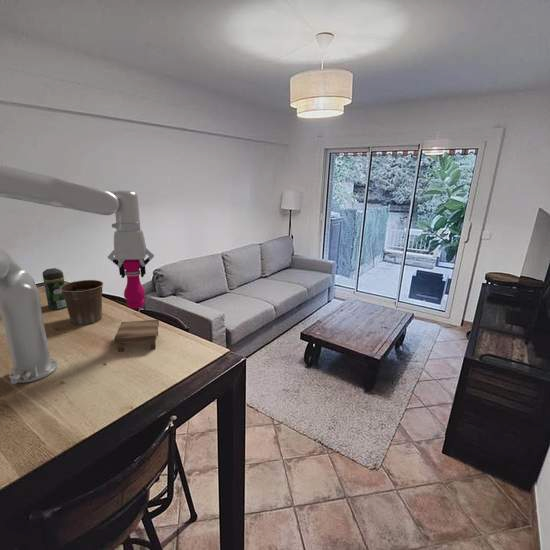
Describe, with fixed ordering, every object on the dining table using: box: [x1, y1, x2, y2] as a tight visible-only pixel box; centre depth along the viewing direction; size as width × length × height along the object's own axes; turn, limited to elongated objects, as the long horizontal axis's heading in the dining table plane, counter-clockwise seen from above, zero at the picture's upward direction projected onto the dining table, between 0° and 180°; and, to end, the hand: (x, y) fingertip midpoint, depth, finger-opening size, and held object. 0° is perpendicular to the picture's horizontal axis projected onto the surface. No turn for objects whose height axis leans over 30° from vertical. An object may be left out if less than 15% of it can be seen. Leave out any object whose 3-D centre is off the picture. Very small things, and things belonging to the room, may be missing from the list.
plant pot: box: [60, 279, 104, 326], centre depth 140 cm, size 16×16×16 cm
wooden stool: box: [113, 319, 160, 353], centre depth 124 cm, size 14×14×6 cm
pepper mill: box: [123, 260, 146, 309], centre depth 117 cm, size 7×7×20 cm
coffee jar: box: [42, 267, 67, 310], centre depth 152 cm, size 10×8×19 cm
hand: (133, 276), depth 117 cm, fingers closed on pepper mill, 5 cm apart
